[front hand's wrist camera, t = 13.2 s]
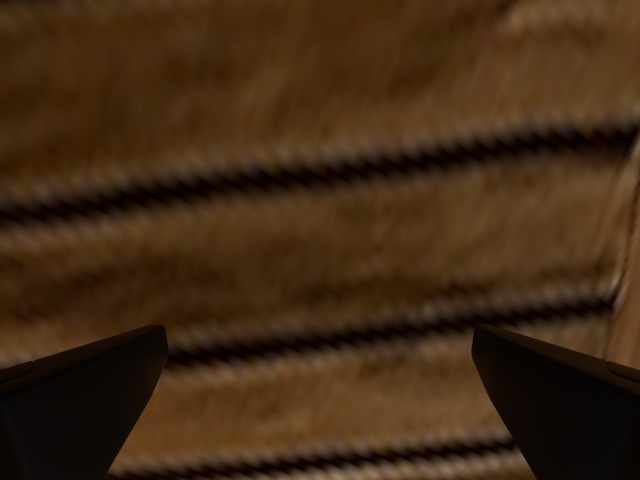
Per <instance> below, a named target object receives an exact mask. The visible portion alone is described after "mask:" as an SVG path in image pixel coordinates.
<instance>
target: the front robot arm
mask: <svg viewBox="0 0 640 480" xmlns="http://www.w3.org/2000/svg"><path fill="white" fill-rule="evenodd" d="M168 353H169V350H168V343H167V336H166V330H165V327H164V326H163V325H148V326H145V327H142V328H138V329H135V330H132V331H129V332H125V333H122V334H119V335H116V336H112V337H109V338H106V339H103V340H99V341H96V342H93V343H90V344H86V345H83V346H80V347H77V348H73V349H70V350H67V351H64V352H60V353H57V354H54V355H51V356H47V357H44V358H41V359H38V360H35V361H34V362H32V361H29V362H26V363H23V364H20V365H16V366H13V367H9V368H6V369H3V370H0V480H103V479H104V477H105V475H106V473H107V472H108V470H109V468H110V467H111V465H112V463H113V461H114V460H115V458H116V456H117V455H118V453H119V451H120V449H121V448H122V446H123V444H124V443H125V441H126V439H127V437H128V436H129V434H130V432H131V431H132V429H133V427H134V425H135V424H136V422H137V420H138V419H139V417H140V415H141V413H142V412H143V410H144V408H145V407H146V405H147V403H148V401H149V400H150V398H151V396H152V394H153V391H154V389H155V387H156V384H157V382H158V380H159V377H160V375H161V373H162V370H163V368H164V366H165V363H166V361H167V358H168ZM471 353H472V358H473V361H474V363H475V366H476V368H477V370H478V373H479V375H480V377H481V380H482V382H483V384H484V387H485V389H486V391H487V394H488V396H489V398H490V400H491V401H492V403H493V405H494V407H495V408H496V410H497V412H498V413H499V415H500V417H501V419H502V420H503V422H504V424H505V425H506V427H507V429H508V431H509V432H510V434H511V436H512V437H513V439H514V441H515V443H516V444H517V446H518V448H519V449H520V451H521V453H522V455H523V456H524V458H525V460H526V461H527V463H528V465H529V467H530V468H531V470H532V472H533V473H534V475H535V477H536V479H537V480H640V370H637V369H634V368H631V367H627V366H624V365H620V364H617V363H614V362H611V361H608V362H606V361H605V360H602V359H599V358H596V357H593V356H589V355H586V354H583V353H580V352H576V351H573V350H570V349H567V348H563V347H560V346H557V345H554V344H550V343H547V342H544V341H541V340H537V339H534V338H531V337H528V336H524V335H521V334H518V333H515V332H511V331H508V330H505V329H502V328H498V327H495V326H492V325H477V326H476V327H475V330H474V336H473V343H472V350H471Z"/></svg>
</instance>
